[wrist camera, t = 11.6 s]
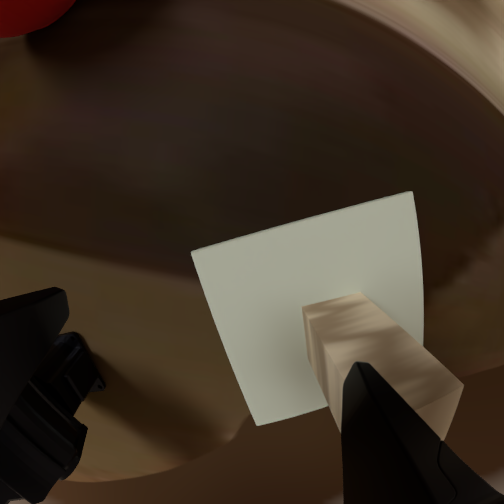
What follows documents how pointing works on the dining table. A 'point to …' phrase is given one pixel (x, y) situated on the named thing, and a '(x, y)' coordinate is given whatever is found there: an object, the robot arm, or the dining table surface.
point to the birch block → (376, 358)
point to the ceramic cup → (29, 15)
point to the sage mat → (307, 293)
